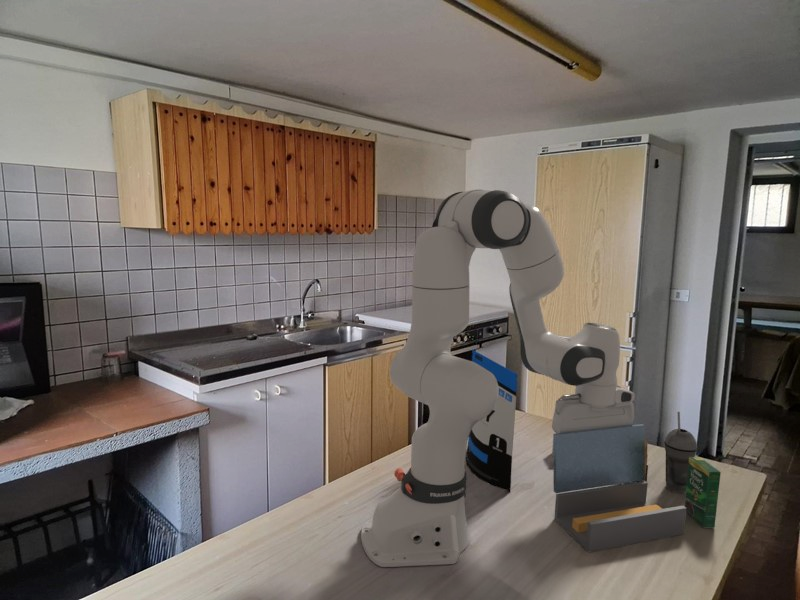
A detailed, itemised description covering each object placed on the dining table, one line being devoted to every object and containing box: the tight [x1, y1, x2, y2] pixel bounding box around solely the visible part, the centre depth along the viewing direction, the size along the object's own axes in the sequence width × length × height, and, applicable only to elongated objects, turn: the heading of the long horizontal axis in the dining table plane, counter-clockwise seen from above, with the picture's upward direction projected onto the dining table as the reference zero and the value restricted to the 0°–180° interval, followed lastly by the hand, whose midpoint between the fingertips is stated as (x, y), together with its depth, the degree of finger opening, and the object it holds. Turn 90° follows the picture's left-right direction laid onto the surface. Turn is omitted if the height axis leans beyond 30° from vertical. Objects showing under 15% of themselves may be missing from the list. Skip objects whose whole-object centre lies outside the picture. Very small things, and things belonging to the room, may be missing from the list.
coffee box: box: [684, 456, 721, 529], centre depth 114 cm, size 8×3×13 cm, turn 179°
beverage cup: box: [663, 411, 698, 494], centre depth 127 cm, size 7×7×20 cm
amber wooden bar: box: [572, 504, 663, 532], centre depth 111 cm, size 22×2×2 cm, turn 107°
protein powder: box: [465, 349, 518, 493], centre depth 134 cm, size 10×24×30 cm, turn 18°
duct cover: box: [552, 423, 646, 494], centre depth 116 cm, size 24×13×1 cm
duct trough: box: [553, 481, 687, 553], centre depth 111 cm, size 24×12×6 cm, turn 107°
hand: (590, 449), depth 119 cm, fingers open, 8 cm apart
